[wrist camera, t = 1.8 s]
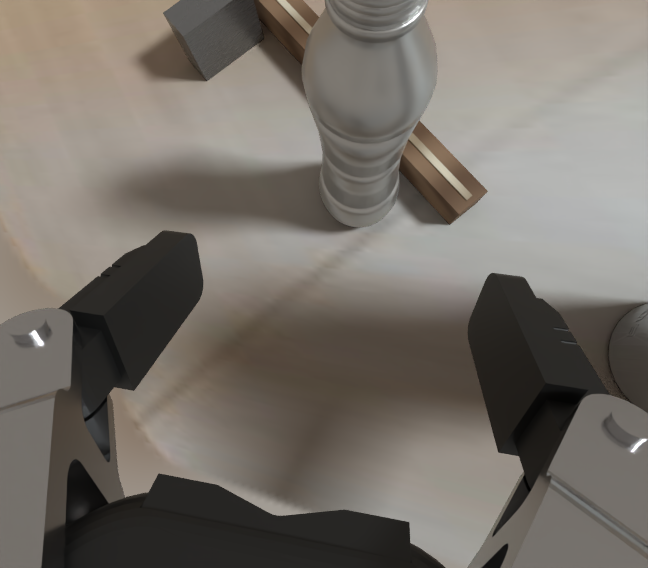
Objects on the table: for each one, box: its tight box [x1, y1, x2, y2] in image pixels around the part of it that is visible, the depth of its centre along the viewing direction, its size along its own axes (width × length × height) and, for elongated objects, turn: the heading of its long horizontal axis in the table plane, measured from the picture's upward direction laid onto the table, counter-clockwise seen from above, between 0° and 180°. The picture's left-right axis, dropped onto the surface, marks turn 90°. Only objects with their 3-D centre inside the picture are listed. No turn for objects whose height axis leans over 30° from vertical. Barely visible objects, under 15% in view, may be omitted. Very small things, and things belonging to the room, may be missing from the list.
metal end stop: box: [163, 0, 264, 81], centre depth 31 cm, size 3×7×5 cm, turn 129°
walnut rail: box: [254, 0, 488, 224], centre depth 31 cm, size 28×3×3 cm, turn 39°
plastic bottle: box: [302, 0, 438, 227], centre depth 21 cm, size 6×7×20 cm
